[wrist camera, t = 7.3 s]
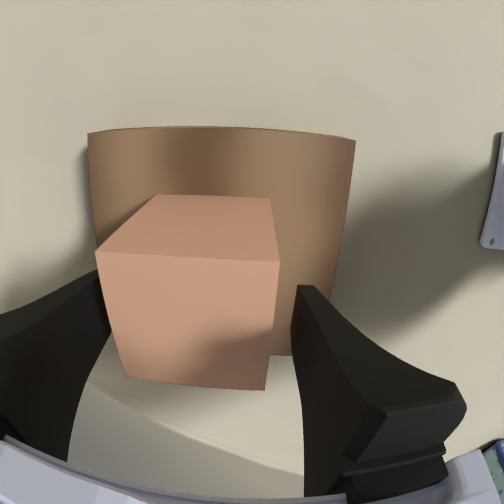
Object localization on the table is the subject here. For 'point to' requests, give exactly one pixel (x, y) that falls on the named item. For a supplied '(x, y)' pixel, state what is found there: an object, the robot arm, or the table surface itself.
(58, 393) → the robot arm
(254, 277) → the terracotta block
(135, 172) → the walnut block
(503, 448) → the lunch box
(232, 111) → the table surface
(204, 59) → the table surface
